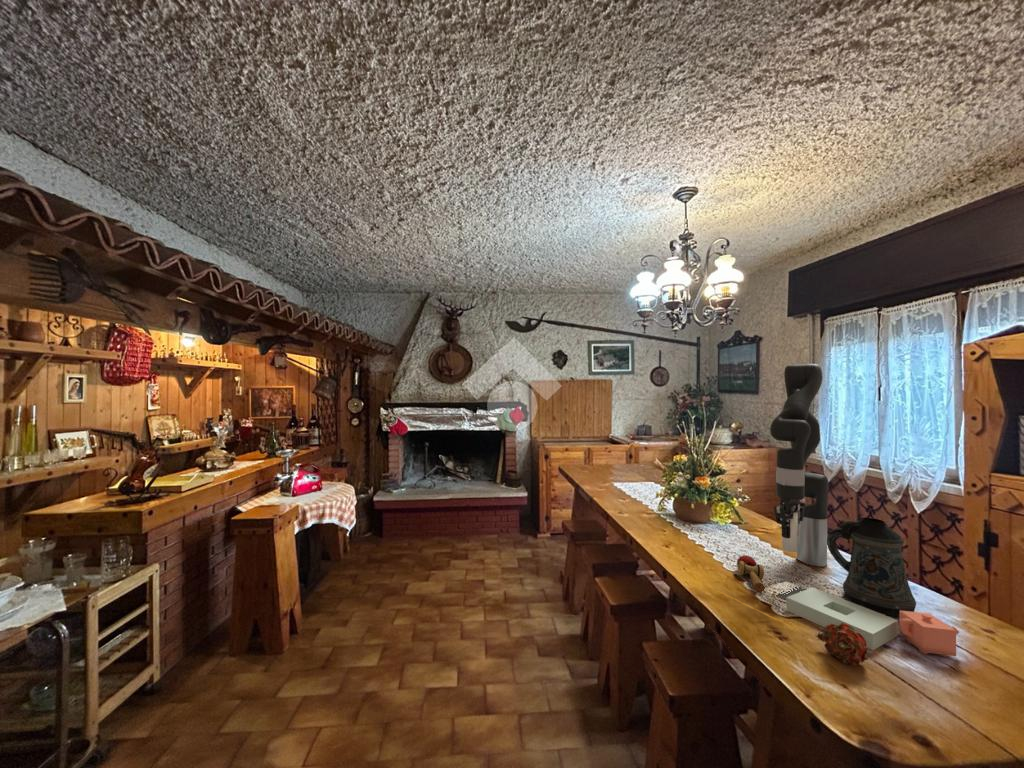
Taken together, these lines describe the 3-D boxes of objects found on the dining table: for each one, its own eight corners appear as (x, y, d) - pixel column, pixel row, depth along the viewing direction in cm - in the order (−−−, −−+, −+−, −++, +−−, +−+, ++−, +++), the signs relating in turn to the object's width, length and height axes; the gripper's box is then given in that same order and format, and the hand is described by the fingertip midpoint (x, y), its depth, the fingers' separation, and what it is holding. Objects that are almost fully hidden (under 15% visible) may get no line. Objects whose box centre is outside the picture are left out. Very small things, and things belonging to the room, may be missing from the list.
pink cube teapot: (972, 662, 96) (972, 627, 97) (912, 655, 99) (912, 620, 99) (944, 643, 104) (944, 610, 104) (890, 636, 106) (890, 604, 107)
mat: (785, 581, 137) (785, 580, 137) (818, 594, 128) (818, 593, 128) (760, 590, 130) (760, 589, 130) (794, 604, 121) (794, 603, 122)
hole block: (812, 600, 124) (812, 587, 124) (897, 635, 107) (897, 620, 107) (786, 611, 118) (786, 597, 118) (872, 650, 100) (872, 634, 100)
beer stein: (932, 622, 113) (932, 532, 114) (852, 613, 117) (852, 526, 118) (890, 594, 130) (890, 515, 130) (821, 587, 134) (821, 510, 134)
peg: (786, 546, 132) (786, 509, 132) (800, 550, 129) (800, 512, 129) (779, 548, 130) (779, 510, 131) (793, 553, 127) (793, 514, 127)
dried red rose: (851, 682, 91) (831, 658, 102) (888, 665, 89) (864, 643, 100) (823, 643, 94) (806, 624, 105) (858, 626, 92) (837, 609, 103)
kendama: (776, 597, 127) (758, 567, 144) (772, 578, 127) (755, 550, 144) (748, 598, 129) (734, 569, 147) (745, 579, 129) (731, 552, 146)
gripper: (789, 477, 137) (789, 529, 136) (764, 481, 130) (764, 536, 130) (815, 482, 130) (815, 536, 130) (790, 487, 123) (790, 544, 123)
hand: (789, 536), depth 130 cm, fingers closed on peg, 4 cm apart
